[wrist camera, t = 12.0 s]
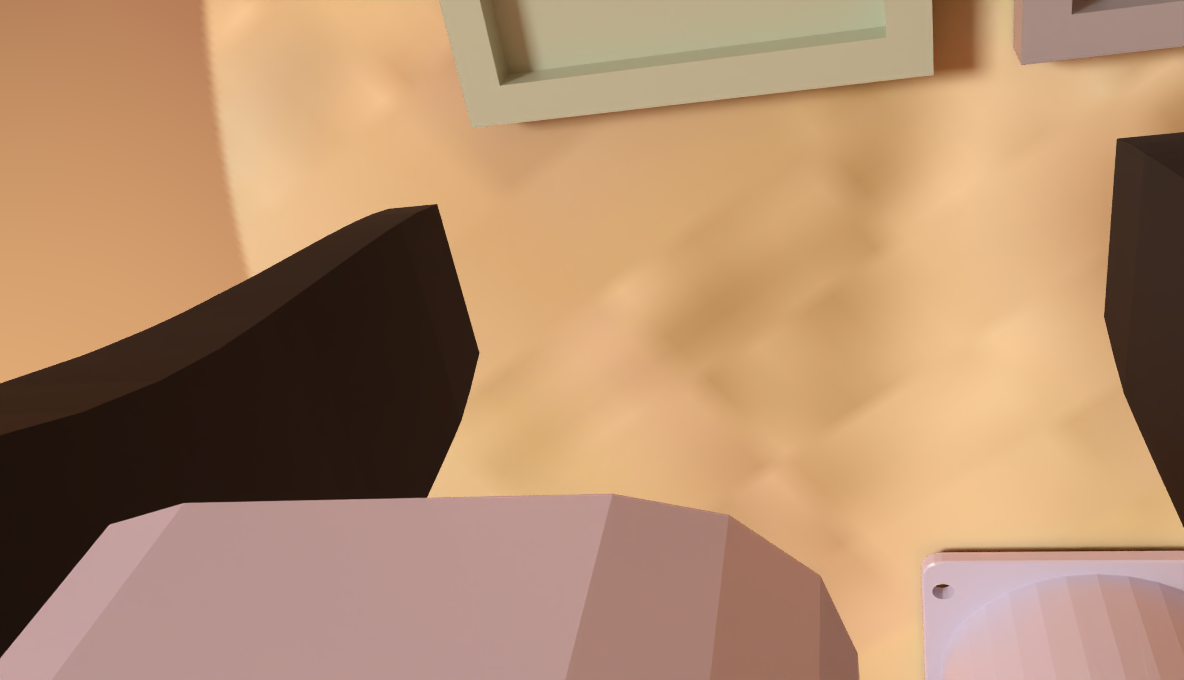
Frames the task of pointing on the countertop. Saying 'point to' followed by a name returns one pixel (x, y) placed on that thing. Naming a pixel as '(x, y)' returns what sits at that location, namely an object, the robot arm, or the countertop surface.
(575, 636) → the robot arm
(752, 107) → the countertop surface
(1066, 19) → the tray grey
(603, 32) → the tray sage
